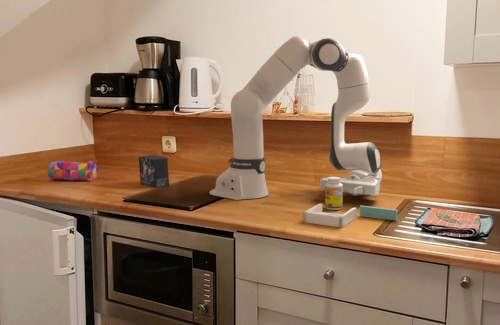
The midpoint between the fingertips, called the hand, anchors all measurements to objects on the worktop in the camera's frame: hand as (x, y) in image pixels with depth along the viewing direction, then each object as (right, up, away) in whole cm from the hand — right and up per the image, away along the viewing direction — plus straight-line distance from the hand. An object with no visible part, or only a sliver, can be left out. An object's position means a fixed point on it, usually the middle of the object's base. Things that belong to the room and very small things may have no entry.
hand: (339, 189), depth 154 cm
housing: (-6, -8, -16) cm, 18 cm away
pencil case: (-109, +1, +56) cm, 123 cm away
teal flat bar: (+9, -8, -15) cm, 19 cm away
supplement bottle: (-2, -6, -2) cm, 7 cm away
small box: (-70, -1, +41) cm, 81 cm away
